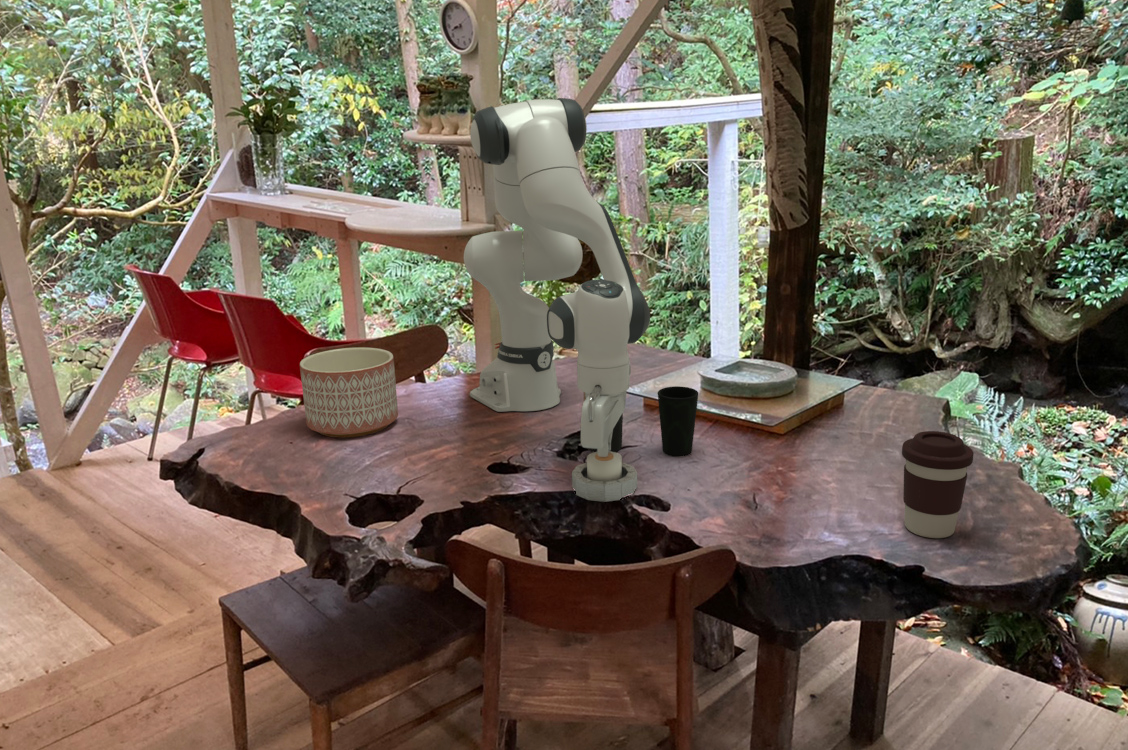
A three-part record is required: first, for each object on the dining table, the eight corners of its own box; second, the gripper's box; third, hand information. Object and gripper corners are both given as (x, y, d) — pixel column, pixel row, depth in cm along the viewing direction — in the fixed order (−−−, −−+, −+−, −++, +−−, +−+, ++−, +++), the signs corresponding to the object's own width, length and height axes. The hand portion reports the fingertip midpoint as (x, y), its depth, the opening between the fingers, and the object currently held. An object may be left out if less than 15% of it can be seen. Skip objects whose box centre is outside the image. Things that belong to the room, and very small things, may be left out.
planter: (369, 445, 177) (362, 374, 172) (288, 436, 183) (280, 368, 178) (414, 414, 194) (409, 350, 190) (339, 407, 200) (333, 345, 196)
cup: (695, 459, 165) (697, 399, 161) (655, 457, 166) (655, 397, 163) (698, 445, 172) (699, 387, 168) (659, 443, 173) (659, 385, 170)
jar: (581, 487, 152) (580, 458, 151) (596, 474, 157) (596, 447, 156) (612, 493, 149) (612, 464, 148) (627, 480, 154) (627, 452, 153)
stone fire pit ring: (560, 488, 154) (559, 472, 153) (604, 470, 161) (604, 455, 160) (604, 507, 146) (604, 490, 145) (649, 487, 153) (649, 471, 152)
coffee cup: (893, 511, 142) (901, 424, 137) (959, 518, 139) (969, 429, 135) (897, 539, 133) (905, 447, 128) (968, 547, 130) (979, 453, 126)
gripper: (609, 397, 137) (609, 479, 141) (632, 362, 156) (632, 434, 160) (570, 395, 139) (572, 476, 143) (597, 360, 158) (598, 432, 162)
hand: (604, 453), depth 152 cm, fingers closed
